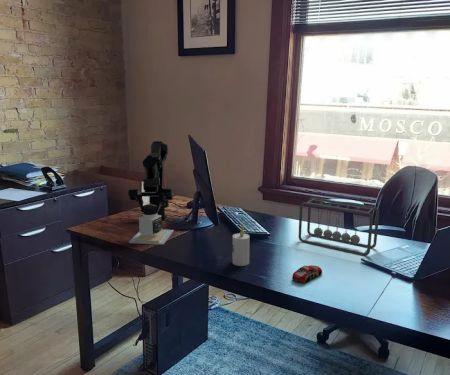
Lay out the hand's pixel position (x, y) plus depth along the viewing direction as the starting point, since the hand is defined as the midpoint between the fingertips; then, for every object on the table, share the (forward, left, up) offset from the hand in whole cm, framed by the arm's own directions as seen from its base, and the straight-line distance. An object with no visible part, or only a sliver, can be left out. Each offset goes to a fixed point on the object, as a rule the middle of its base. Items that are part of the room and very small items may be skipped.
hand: (149, 211), depth 170 cm
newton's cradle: (-5, +79, -13) cm, 80 cm away
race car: (+27, +65, -13) cm, 71 cm away
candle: (+18, +41, -13) cm, 46 cm away
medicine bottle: (-1, 0, -10) cm, 10 cm away
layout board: (-4, -1, -13) cm, 14 cm away
